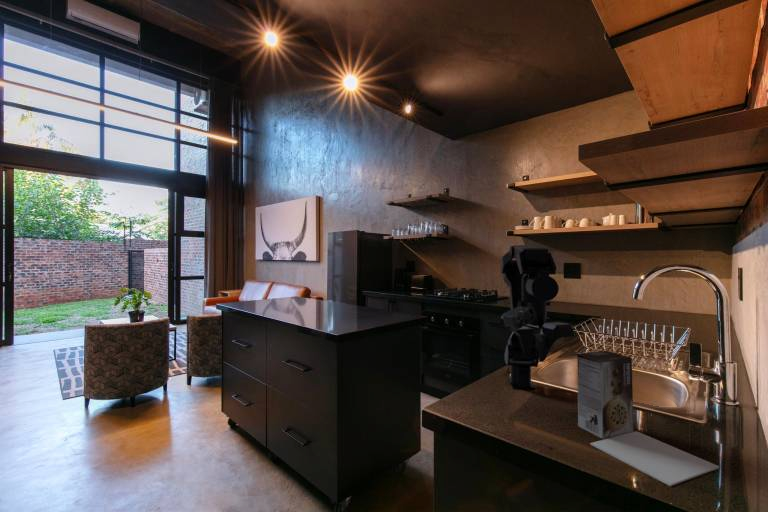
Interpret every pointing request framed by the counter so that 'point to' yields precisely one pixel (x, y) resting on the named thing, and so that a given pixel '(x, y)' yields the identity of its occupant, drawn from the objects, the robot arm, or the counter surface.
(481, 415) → the counter surface
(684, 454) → the grey mat
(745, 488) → the counter surface
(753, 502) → the counter surface
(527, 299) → the robot arm
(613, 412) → the coffee box
